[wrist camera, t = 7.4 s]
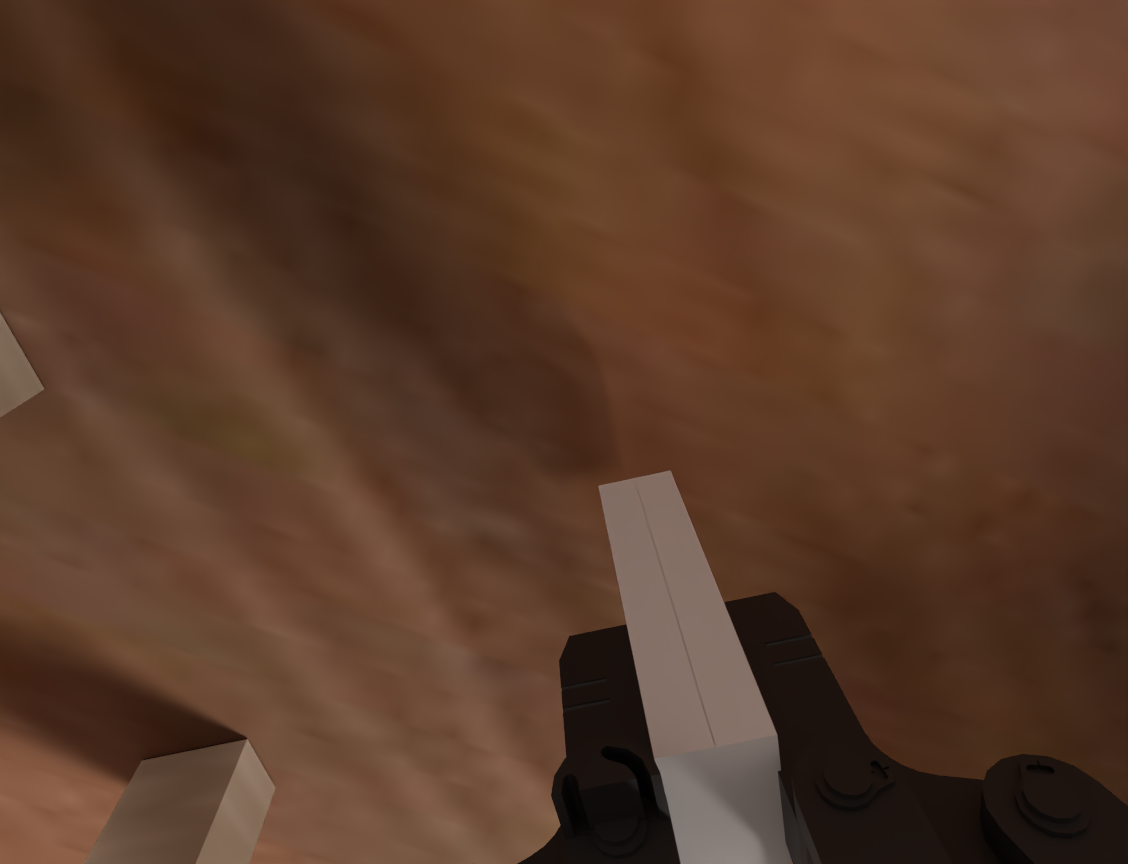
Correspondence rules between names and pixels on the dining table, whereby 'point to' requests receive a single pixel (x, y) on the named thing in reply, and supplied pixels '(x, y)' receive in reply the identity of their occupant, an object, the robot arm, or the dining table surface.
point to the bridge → (168, 756)
